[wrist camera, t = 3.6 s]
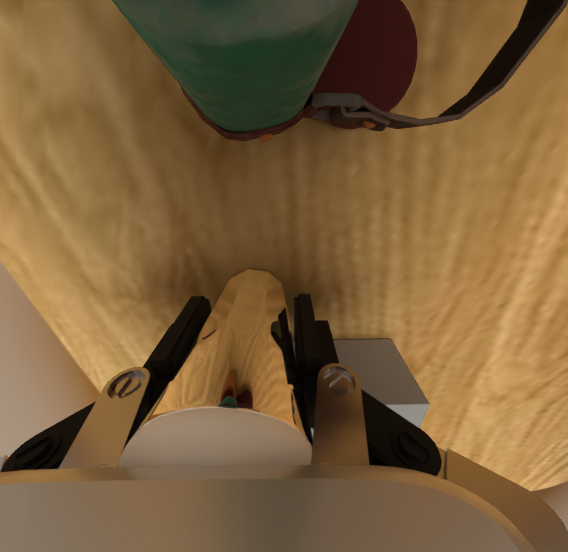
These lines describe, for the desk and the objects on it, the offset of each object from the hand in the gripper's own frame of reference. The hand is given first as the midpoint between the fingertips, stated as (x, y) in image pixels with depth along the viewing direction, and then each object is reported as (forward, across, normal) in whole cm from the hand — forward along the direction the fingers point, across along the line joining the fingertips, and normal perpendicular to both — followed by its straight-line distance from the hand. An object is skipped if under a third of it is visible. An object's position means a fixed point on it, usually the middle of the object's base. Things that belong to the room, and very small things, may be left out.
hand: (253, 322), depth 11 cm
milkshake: (+2, 0, 0) cm, 2 cm away
